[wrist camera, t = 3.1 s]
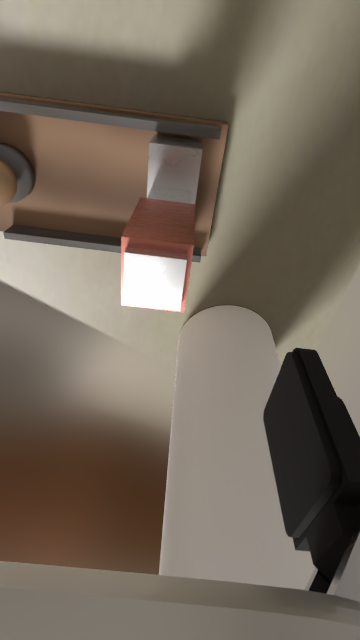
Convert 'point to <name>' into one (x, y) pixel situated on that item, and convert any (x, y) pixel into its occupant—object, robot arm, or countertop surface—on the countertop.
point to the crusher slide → (162, 228)
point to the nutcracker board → (91, 170)
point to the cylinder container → (226, 458)
